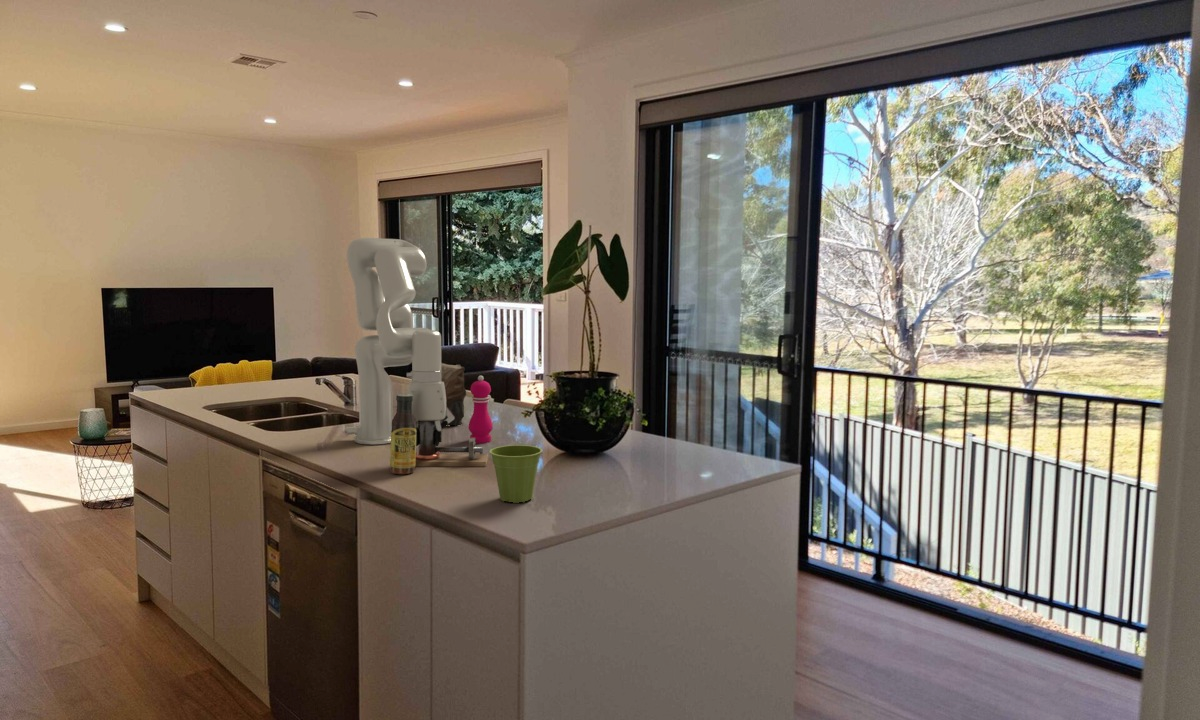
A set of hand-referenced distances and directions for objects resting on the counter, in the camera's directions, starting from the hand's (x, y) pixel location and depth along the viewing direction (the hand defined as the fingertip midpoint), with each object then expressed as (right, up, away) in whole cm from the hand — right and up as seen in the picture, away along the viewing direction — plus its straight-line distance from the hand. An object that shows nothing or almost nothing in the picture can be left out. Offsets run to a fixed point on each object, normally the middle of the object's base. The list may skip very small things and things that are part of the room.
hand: (427, 444), depth 209 cm
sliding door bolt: (+6, -4, +1) cm, 7 cm away
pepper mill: (+10, -2, +28) cm, 30 cm away
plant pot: (+27, -9, -32) cm, 43 cm away
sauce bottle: (-4, -6, -11) cm, 13 cm away
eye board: (+5, -5, +1) cm, 7 cm away
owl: (-7, +1, +54) cm, 54 cm away
